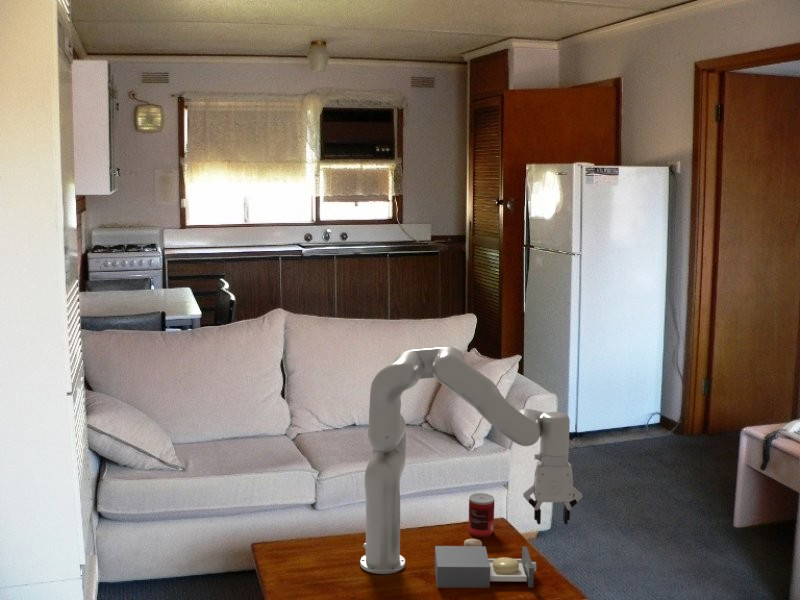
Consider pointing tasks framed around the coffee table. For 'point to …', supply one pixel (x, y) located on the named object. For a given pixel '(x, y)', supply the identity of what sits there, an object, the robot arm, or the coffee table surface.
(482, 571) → the housing
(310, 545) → the coffee table surface
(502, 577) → the drawer
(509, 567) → the cream domed disc
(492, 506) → the canned food
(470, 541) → the beige rounded lump
